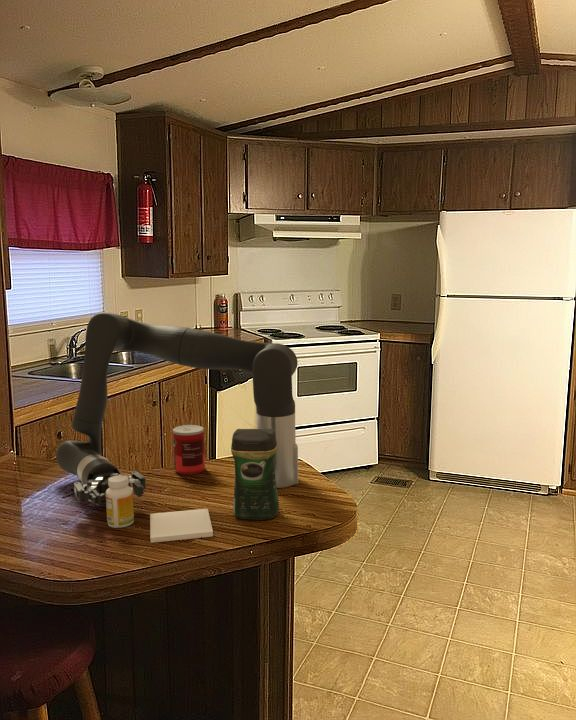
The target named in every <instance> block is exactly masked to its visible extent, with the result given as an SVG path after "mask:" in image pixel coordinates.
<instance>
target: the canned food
mask: <svg viewBox="0 0 576 720" xmlns="http://www.w3.org/2000/svg"><path fill="white" fill-rule="evenodd" d="M172 441H173V442H172V443H173V445H172V446H173V461H174V465H173V466H174V469H175V473H177V472H178V473H177V474H179V473H181V474H180V475H182V474H194V475H198V474H197V473H199V474H201V473H203V472H204V471H205V468H206V457H205V456H206V454H205V453H206V452H205V429H204V427H203V426H202V425H201V426H200V425H197V424H183V425H179V426H175V427H174V428H173V429H172ZM202 471H203V472H202ZM200 472H201V473H200Z"/></svg>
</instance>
